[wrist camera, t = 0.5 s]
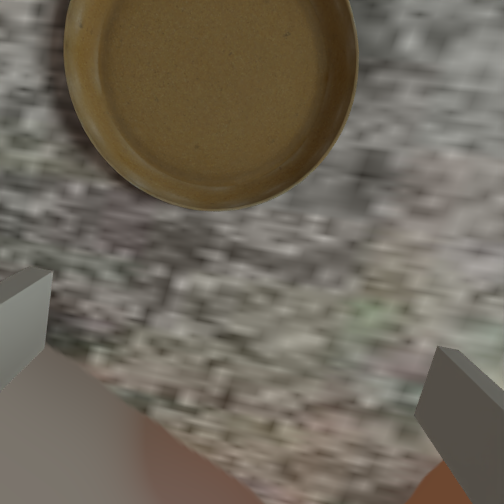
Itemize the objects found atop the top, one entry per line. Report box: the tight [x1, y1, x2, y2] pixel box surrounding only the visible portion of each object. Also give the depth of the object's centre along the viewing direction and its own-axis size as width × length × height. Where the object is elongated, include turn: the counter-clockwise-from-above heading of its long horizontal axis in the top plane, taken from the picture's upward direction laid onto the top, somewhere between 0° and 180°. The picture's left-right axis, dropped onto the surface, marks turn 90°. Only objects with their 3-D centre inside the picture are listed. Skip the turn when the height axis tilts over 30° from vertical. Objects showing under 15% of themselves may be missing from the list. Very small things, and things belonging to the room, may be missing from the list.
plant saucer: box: [63, 0, 359, 212], centre depth 36 cm, size 24×24×3 cm
